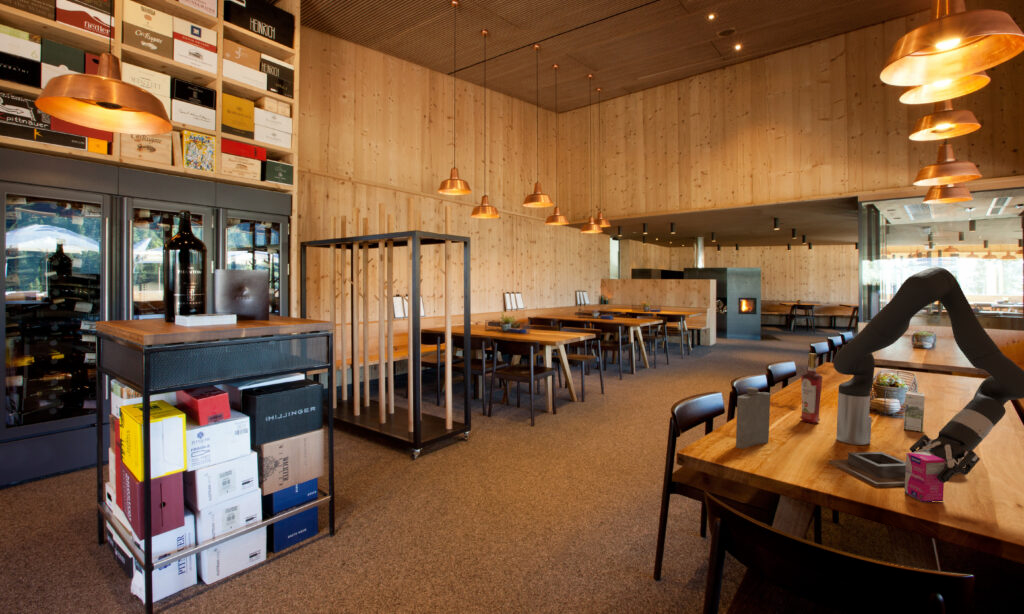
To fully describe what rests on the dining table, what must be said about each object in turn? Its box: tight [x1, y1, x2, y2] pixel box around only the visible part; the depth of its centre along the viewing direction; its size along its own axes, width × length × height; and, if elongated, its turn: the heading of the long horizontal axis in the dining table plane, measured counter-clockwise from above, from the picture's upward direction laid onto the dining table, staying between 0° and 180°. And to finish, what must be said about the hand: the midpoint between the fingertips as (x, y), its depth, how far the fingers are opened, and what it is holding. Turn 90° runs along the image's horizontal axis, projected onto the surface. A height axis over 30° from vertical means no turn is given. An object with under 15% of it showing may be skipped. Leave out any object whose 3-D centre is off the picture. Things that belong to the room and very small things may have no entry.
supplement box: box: [904, 452, 945, 503], centre depth 128 cm, size 6×6×12 cm
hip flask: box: [735, 386, 771, 450], centre depth 169 cm, size 16×4×20 cm, turn 120°
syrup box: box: [903, 390, 926, 433], centre depth 187 cm, size 6×6×14 cm
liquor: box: [799, 352, 823, 424], centre depth 197 cm, size 7×7×28 cm
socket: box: [828, 451, 906, 488], centre depth 144 cm, size 18×18×4 cm
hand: (924, 473), depth 128 cm, fingers open, 8 cm apart
